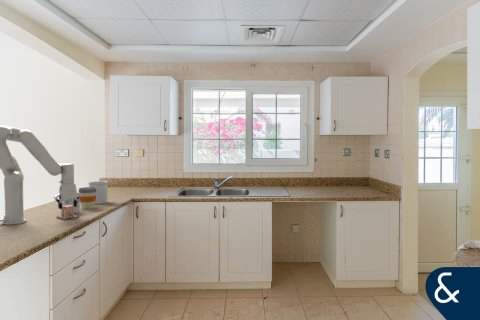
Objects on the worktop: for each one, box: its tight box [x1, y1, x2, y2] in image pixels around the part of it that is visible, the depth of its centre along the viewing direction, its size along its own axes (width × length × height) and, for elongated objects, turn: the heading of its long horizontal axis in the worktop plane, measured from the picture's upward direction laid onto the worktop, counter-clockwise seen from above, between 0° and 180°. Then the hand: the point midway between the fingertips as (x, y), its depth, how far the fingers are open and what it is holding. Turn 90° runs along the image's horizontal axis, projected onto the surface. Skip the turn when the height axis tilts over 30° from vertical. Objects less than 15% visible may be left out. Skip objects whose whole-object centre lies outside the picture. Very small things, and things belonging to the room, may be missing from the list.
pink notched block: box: [61, 205, 75, 218], centre depth 221 cm, size 6×6×7 cm
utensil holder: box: [88, 180, 109, 205], centre depth 277 cm, size 15×15×18 cm
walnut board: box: [56, 214, 80, 221], centre depth 221 cm, size 10×10×1 cm
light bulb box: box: [60, 198, 81, 215], centre depth 236 cm, size 11×7×11 cm, turn 141°
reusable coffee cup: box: [78, 186, 96, 210], centre depth 256 cm, size 12×13×15 cm
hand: (67, 207), depth 221 cm, fingers open, 9 cm apart
